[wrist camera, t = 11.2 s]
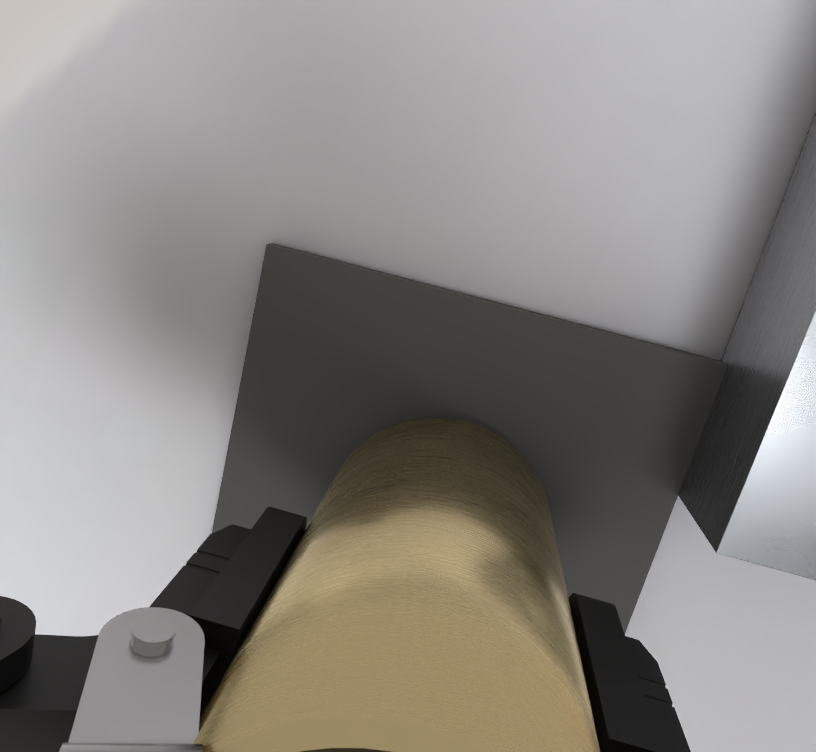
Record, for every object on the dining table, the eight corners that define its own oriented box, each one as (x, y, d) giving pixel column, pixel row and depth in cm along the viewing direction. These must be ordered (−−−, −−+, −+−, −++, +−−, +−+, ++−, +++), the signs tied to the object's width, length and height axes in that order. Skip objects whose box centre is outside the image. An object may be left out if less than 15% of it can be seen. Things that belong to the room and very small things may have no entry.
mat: (721, 361, 15) (727, 365, 14) (578, 736, 17) (580, 748, 17) (272, 243, 15) (266, 244, 15) (198, 626, 18) (192, 635, 17)
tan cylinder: (580, 452, 15) (745, 881, 5) (514, 649, 16) (554, 1272, 7) (353, 391, 15) (130, 699, 6) (307, 590, 16) (62, 1111, 7)
